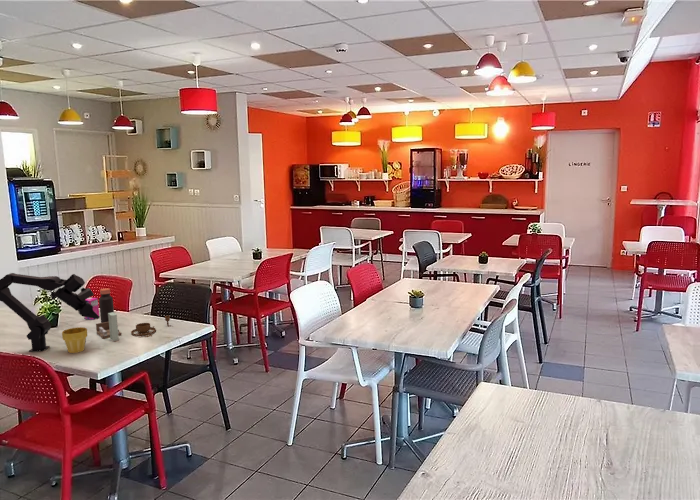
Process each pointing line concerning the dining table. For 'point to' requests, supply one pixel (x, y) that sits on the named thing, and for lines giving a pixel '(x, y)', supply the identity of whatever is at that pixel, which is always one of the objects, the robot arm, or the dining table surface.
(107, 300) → the bottle
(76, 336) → the plant pot
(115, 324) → the pale green rectangular box
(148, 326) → the place setting
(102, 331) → the cabinet base
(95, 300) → the supplement box
